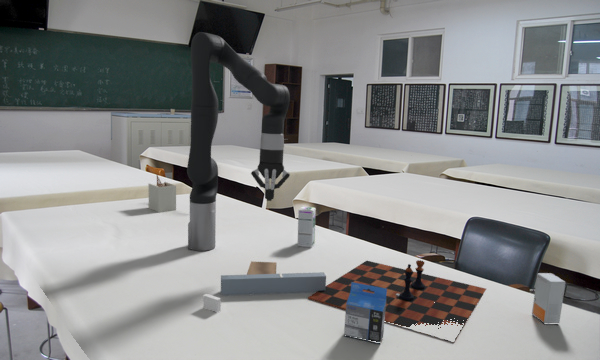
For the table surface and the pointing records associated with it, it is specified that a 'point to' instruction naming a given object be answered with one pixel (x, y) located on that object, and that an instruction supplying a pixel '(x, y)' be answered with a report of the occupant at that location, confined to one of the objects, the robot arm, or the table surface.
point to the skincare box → (548, 298)
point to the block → (262, 268)
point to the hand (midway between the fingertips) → (269, 200)
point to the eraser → (211, 302)
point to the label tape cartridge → (365, 312)
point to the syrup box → (306, 226)
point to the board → (272, 283)
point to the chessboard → (407, 294)
